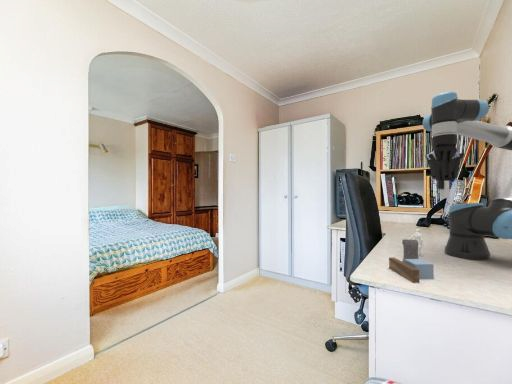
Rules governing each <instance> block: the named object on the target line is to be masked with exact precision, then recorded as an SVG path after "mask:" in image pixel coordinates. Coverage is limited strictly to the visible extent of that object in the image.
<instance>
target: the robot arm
mask: <svg viewBox="0 0 512 384" xmlns="http://www.w3.org/2000/svg"><path fill="white" fill-rule="evenodd" d="M489 108H490V105H489V103H488V102H487V101H485V100H481V99H480V100H479V99H458V94H457V92H455V91H446V92H441V93H439V94H436V95H434V96H433V97H432V99H431V108H430V110H431V113H430V114H428V115H426V116H424V118H423V119H422V128H423V129H424V130H425V131H427V132H431V136H432V137H431V147H432V148H431V152H429V153H428V154H425V155H424V156H425V158H426V160H427V161H428V162H427V163H428V166H429V170H430V175H431V178H432V179H433V180H435V181H436V182H437V189H438V190H439V198H440V199H450V190H451V188H452V181H454V180H455V179H457V178H458V174H459V170H460V167H461V166H460V165H461V161H462V159H463V158H464V155H465V154H464V153H463V152H461V153H460V152H458V149H457V144H458V136H461V137H466V138H469V139H473V140H476V141H477V140H478V141H481V142H485V143H488V144H490V145H491V146H492V147H494V148H498V149H503V150H507V151H512V126H510V125H503V126H501V125H496V124H493V123H489V122H485V121H481V120H482V119H484V118H485V117H486V116H487V115H488V113H489V110H490V109H489ZM448 218H449V219H448V221H449V222H448V223H449V227H448V228H449V237H448V240H447V241H446V245H445V246H444V253H445V254H446V255H449V256H452V257H456V258H461V259H465V260H466V259H467V260H477V261H479V260H480V261H485V260H490V259H491V252H490V250H489V247H488V244H487V242H486V240H485V239H486V238H485V236H488V237H493V238H499V239H502V240H512V177H511V178H510V180H509V182H508V184H507V185H506V187H505V188H504V190H503V192H502V193H501V194H500V196H499V197H496V198H493V199H492V200H491V202H489V205H488V206H486V205H485V203H483V202H470V203H468V202H467V203H454V204H451V205H450V206H449V212H448Z"/></svg>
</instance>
